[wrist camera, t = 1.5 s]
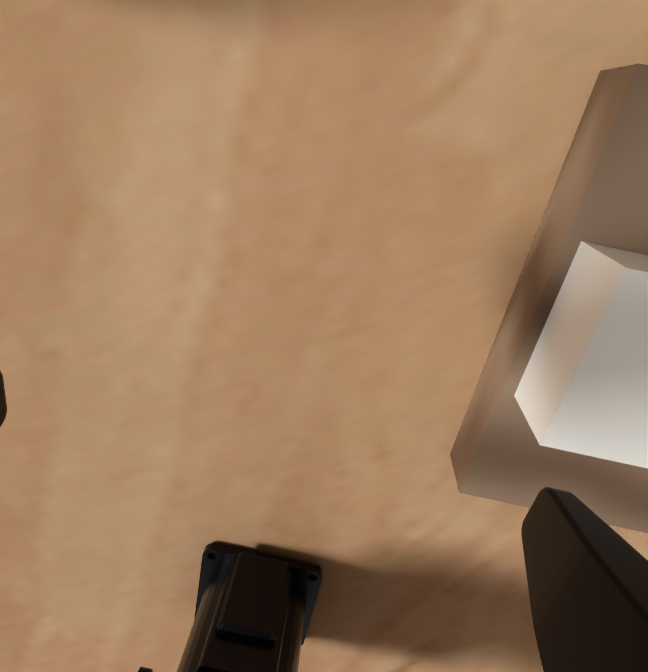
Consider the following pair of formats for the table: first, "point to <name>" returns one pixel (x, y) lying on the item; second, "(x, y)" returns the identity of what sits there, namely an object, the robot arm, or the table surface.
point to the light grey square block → (593, 360)
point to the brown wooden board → (536, 304)
